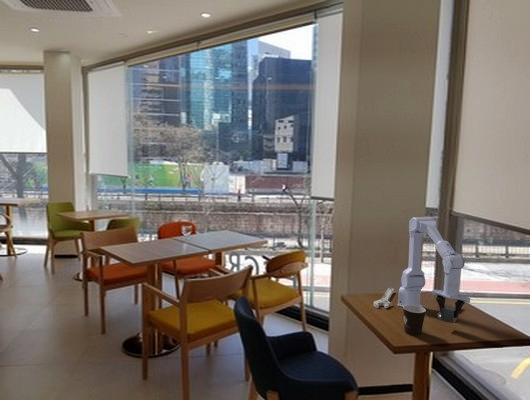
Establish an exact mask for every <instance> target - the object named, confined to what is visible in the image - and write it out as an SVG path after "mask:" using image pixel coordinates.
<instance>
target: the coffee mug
mask: <svg viewBox="0 0 530 400" xmlns="http://www.w3.org/2000/svg"><path fill="white" fill-rule="evenodd" d="M402 309H403V326H404V328H403V329H404V333H405V334H407V335H409V336H412V337H413V336H414V337H418V336H421V335H422V332H423V328H424V322H425V316H426V312H427V310H426V308H424V307H420V306H416V305H405V306H403V307H402Z"/></svg>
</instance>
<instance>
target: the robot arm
mask: <svg viewBox="0 0 530 400" xmlns="http://www.w3.org/2000/svg"><path fill="white" fill-rule="evenodd" d="M408 222H409V223H408V233H409V244H408V247H409V248H408V267H407V268H406V269H404V270H403V271H402V274H401V278H400V284H401V286H400V287H399V290H398V294H397V295H398V297H397V306H398V307H402V308H403V306H405V305H416V306H420V307H423V306H424V305H422V304H421V292H422V291H421V290H423V288H424V287H425V286H426V278H425V277H426V276H425V272H424V271H423V269H421V262H422V261H421V260H422V259H421V258H422V241H423V240H422V239H423V236H424V235H425V234H427V235H428V236H429V237H430V238H431V240H432V241H433V242H434V244H435V250H436V251H437V253H438V254H439V256H440V257H441V259H442V266H443V272H444V279H443V280H444V282H443V290H440V289H433V290H432V291H431V295H432V296H436V298H435V300H436V302H437V304H438V307H439V312H440V313H441V308H442V307H443V306H445V305H446V300H447V299H450V300H454V301H455V302H454V306H455V318H457V319H458V318H459V315H460V312H461V310H462V309H463V306H464V305H465V304H468V305H469V304H470V303H471V297H467V296H466V295H462V294H459V293H460V283H461V269H463V268H464V267H465V258H464V256H463V255H462V254H460V253H458V252H456V251H455V250H454V248H453V247H452V245H451V244H450V242H449V241H447V240H444V239H443V237H442V235H441V233H440V232H439V230H438V229H437V222H436V220H435V218H434V217H432V216H426V217H425V216H420V217H417V216H415V217H412V218H411V219H409V221H408ZM423 308H424V307H423ZM461 308H462V309H461Z"/></svg>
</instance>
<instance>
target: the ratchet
mask: <svg viewBox="0 0 530 400" xmlns="http://www.w3.org/2000/svg"><path fill="white" fill-rule="evenodd" d="M453 307H455V305H454V306H453ZM461 310H463V307H462V308H461ZM436 318H437V319H438V320H440V321H443V322H445V321H444V320H441V313H440V311H439V312H438V313H437V317H436ZM446 322H448V321H446ZM448 323H449V322H448Z"/></svg>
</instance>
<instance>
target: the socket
mask: <svg viewBox="0 0 530 400" xmlns="http://www.w3.org/2000/svg"><path fill="white" fill-rule="evenodd" d="M442 320H444V321H443V322H447V321H448V323H452V324H454V323H455V322H456V321H457V320H458V318H455V307H454V306H453V305H448V304H445V306H443V307H442V308H441V320H440V321H442Z"/></svg>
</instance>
